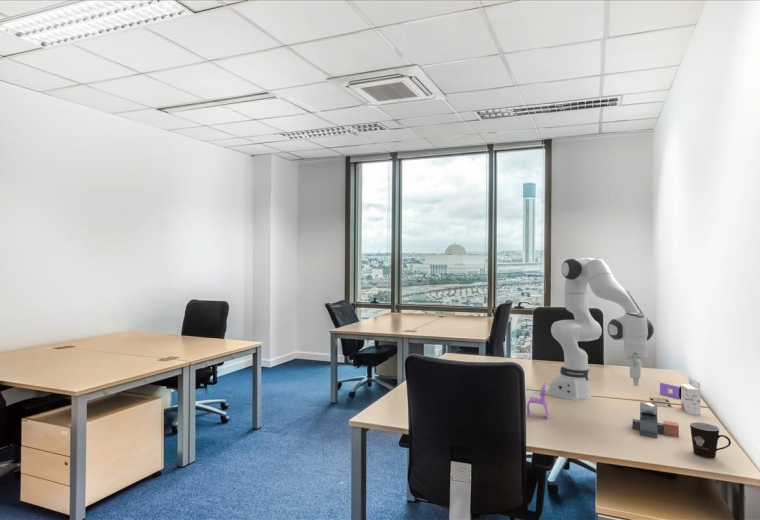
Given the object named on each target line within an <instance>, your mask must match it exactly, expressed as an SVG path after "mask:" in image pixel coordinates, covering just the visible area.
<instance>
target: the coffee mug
mask: <svg viewBox="0 0 760 520" xmlns="http://www.w3.org/2000/svg"><path fill="white" fill-rule="evenodd" d="M689 427H690V433H691V434H690V435H691V444H692V451H693V454H694V455H696V456H698V457H700V458H701V457H702V458H706V459H715V458H716V456H717V451H720V450H724V449H726V448H729V447H731V446H730V445H732V444H731V443H732V442H731V438H730V437H728V436H726V435H724V434H719V433H720V428H719V427H718V426H717V425H713V424H710V423H706V422H697V421H696V422H695V421H693V422H690V423H689ZM722 437H723V438H725V439H726V440H727V441H728V444H727V445H725V446H723V447H718V440H719V439H720V438H722ZM717 447H718V448H717Z"/></svg>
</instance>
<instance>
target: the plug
mask: <svg viewBox="0 0 760 520" xmlns="http://www.w3.org/2000/svg"><path fill="white" fill-rule="evenodd" d="M632 429H634V430H639V431H640V419H636V418H632ZM679 431H680V429H679V422H676V421H668V420H663V422H657V434H663V435H666V436H671V437H672V436H673V437H679V434H680V433H679Z"/></svg>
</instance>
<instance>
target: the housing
mask: <svg viewBox="0 0 760 520" xmlns="http://www.w3.org/2000/svg"><path fill="white" fill-rule="evenodd" d="M639 420H640V430H639V436H643V437H648V438H655V439H658V437H659V436H658V434H659V433H657V423H658V403H657V404H656V403H649V402H644V401H642V402H640V401H639Z"/></svg>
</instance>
